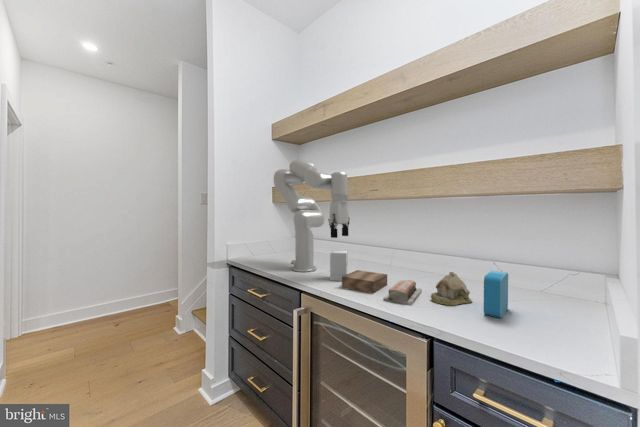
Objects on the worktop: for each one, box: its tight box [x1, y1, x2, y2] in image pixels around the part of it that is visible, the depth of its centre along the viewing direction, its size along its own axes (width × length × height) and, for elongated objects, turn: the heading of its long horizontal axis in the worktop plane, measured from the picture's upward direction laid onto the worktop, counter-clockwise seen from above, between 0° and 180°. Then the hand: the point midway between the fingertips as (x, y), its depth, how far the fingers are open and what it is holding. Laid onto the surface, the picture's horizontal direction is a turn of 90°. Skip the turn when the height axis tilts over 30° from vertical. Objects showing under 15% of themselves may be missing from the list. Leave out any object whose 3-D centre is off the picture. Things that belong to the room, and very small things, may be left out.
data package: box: [483, 270, 509, 319], centre depth 85 cm, size 12×4×12 cm, turn 137°
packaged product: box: [382, 279, 423, 306], centre depth 101 cm, size 18×5×10 cm
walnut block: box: [341, 269, 388, 295], centre depth 113 cm, size 14×14×5 cm
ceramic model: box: [430, 271, 473, 306], centre depth 96 cm, size 14×11×10 cm
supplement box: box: [329, 250, 348, 282], centre depth 125 cm, size 7×7×13 cm
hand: (339, 236), depth 125 cm, fingers open, 9 cm apart
